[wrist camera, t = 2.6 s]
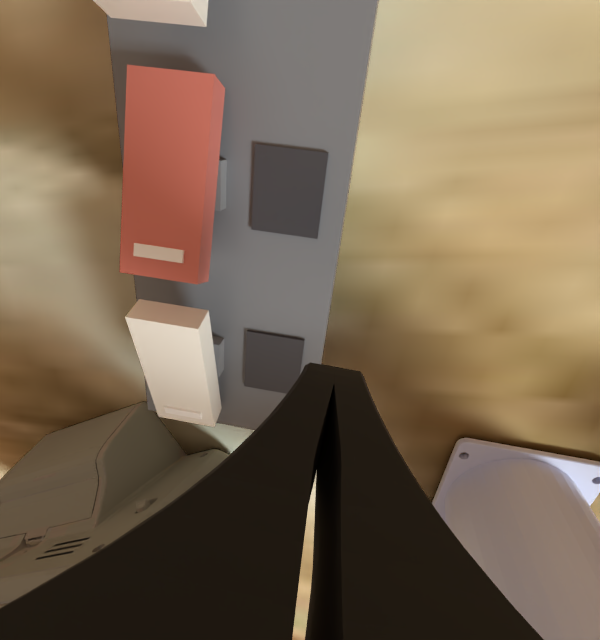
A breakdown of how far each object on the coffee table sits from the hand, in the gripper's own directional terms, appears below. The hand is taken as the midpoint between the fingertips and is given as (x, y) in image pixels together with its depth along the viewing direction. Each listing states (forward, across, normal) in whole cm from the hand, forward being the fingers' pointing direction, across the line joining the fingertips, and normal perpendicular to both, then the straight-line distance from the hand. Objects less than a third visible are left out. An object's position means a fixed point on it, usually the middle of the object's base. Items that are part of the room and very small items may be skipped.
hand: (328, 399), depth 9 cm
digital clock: (+10, +12, +16) cm, 22 cm away
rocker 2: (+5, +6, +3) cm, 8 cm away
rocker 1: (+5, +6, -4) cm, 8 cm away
